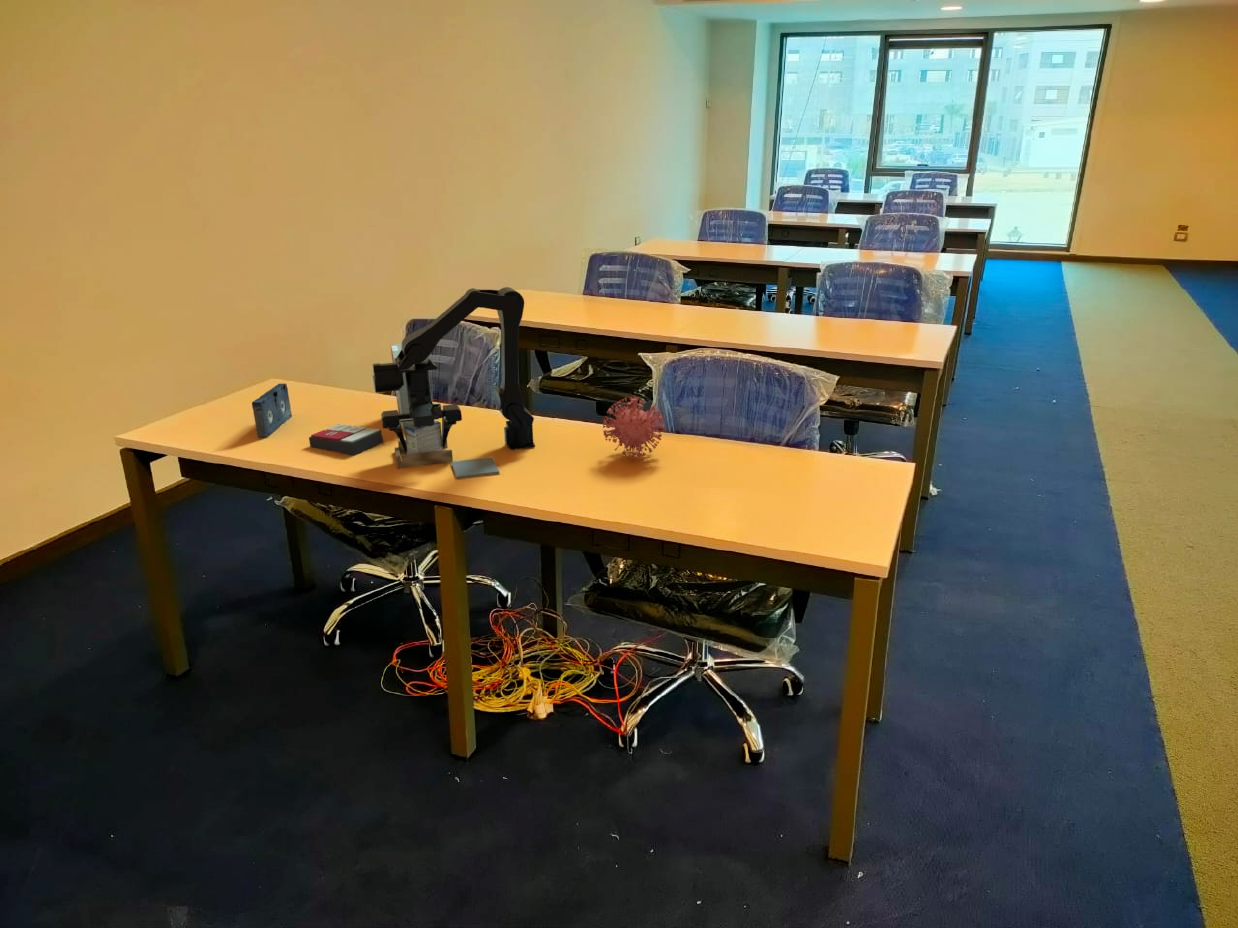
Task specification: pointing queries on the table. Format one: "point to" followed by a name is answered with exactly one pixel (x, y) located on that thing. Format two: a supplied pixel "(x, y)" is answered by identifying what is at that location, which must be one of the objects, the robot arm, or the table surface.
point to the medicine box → (423, 438)
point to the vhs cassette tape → (271, 410)
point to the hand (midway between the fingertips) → (424, 449)
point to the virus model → (633, 427)
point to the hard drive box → (402, 393)
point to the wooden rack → (422, 457)
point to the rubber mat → (474, 467)
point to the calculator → (346, 439)
